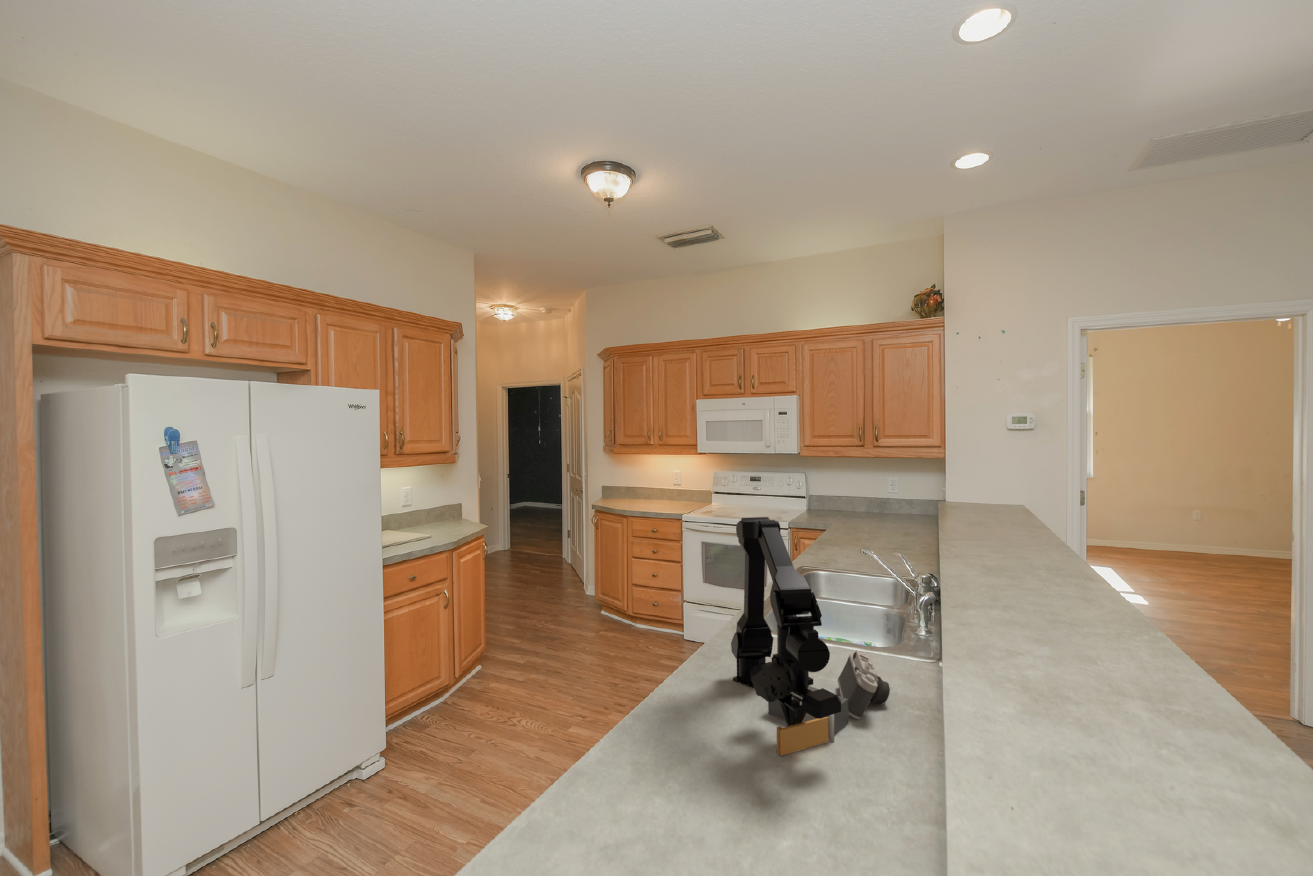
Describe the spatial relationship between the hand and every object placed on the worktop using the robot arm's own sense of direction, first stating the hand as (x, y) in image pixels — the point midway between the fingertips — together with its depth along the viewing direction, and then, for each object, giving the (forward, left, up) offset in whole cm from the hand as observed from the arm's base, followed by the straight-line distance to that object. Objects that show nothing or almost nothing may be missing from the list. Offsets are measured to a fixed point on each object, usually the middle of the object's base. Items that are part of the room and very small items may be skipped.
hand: (793, 733), depth 106 cm
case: (-3, +11, -2) cm, 11 cm away
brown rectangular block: (+2, 0, -2) cm, 3 cm away
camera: (+3, +25, -3) cm, 25 cm away
